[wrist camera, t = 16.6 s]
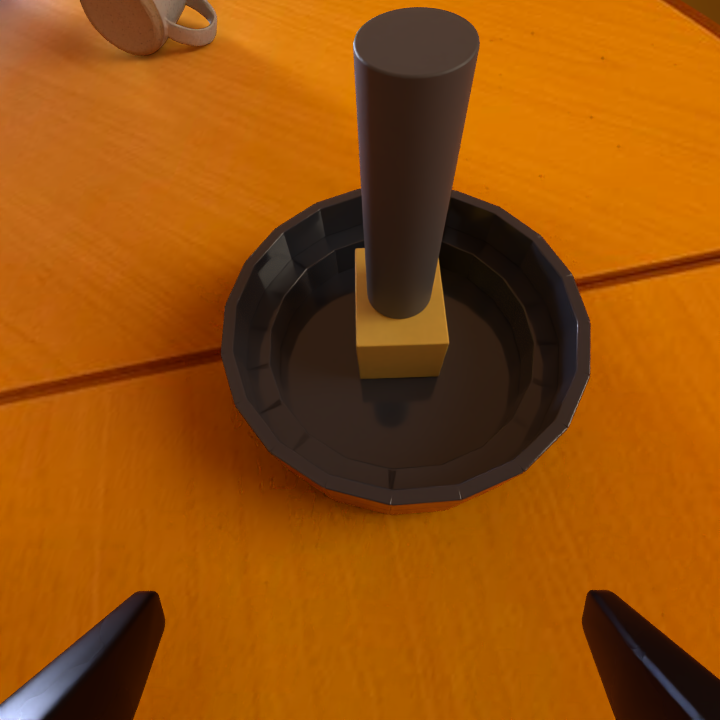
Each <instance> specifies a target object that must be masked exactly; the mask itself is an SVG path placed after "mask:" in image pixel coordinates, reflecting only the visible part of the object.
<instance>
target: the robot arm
mask: <svg viewBox="0 0 720 720" xmlns="http://www.w3.org/2000/svg"><path fill="white" fill-rule="evenodd" d="M582 625H583V630H584V633H585V636H586V639H587V642H588V644H589V647H590V650H591V653H592V655H593V658H594V661H595V664H596V666H597V669H598V672H599V675H600V677H601V680H602V683H603V686H604V688H605V691H606V694H607V697H608V700H609V702H610V705H611V708H612V710H613V713H614V716H615V718H616V720H720V680H719V679H718V678H717V677H716V676H715V675H713V674H712V673H711V672H710V671H708V670H707V669H706V668H705V667H704V666H702V665H701V664H700V663H699V662H697V661H696V660H695V659H694V658H693V657H691V656H690V655H689V654H688V653H686V652H685V651H684V650H683V649H682V648H680V647H679V646H678V645H677V644H675V643H674V642H673V641H672V640H671V639H669V638H668V637H667V636H666V635H665V634H663V633H662V632H661V631H660V630H658V629H657V628H656V627H655V626H654V625H652V624H651V623H650V622H649V621H647V620H646V619H645V618H644V617H643V616H641V615H640V614H639V613H638V612H636V611H635V610H634V609H633V608H632V607H630V606H629V605H628V604H627V603H625V602H624V601H623V600H622V599H621V598H619V597H618V596H617V595H616V594H614V593H613V592H611V591H608V590H590V591H589V592H588V593H587V596H586V601H585V606H584V612H583V617H582ZM164 627H165V617H164V613H163V609H162V606H161V602H160V598H159V595H158V593H156V592H155V591H138V592H136V593H134V594H133V595H131V596H130V597H129V598H128V599H127V600H125V601H124V602H123V603H122V604H121V605H119V606H118V607H117V608H116V609H115V610H113V611H112V612H111V613H110V614H108V615H107V616H106V617H105V618H104V619H102V620H101V621H100V622H99V623H98V624H96V625H95V626H94V627H93V628H92V629H90V630H89V631H88V632H87V633H86V634H84V635H83V636H82V637H81V638H80V639H78V640H77V641H76V642H75V643H74V644H72V645H71V646H70V647H69V648H67V649H66V650H65V651H64V652H63V653H61V654H60V655H59V656H58V657H57V658H55V659H54V660H53V661H52V662H51V663H49V664H48V665H47V666H46V667H45V668H43V669H42V670H41V671H40V672H39V673H37V674H36V675H35V676H34V677H33V678H31V679H30V680H29V681H28V682H26V683H25V684H24V685H23V686H22V687H20V688H19V689H18V690H17V691H16V692H14V693H13V694H12V695H11V696H10V697H8V698H7V699H6V700H5V701H4V702H2V703H1V704H0V720H133V718H134V715H135V712H136V710H137V707H138V704H139V701H140V698H141V696H142V693H143V690H144V687H145V684H146V681H147V678H148V675H149V672H150V669H151V666H152V663H153V661H154V658H155V655H156V652H157V649H158V646H159V643H160V640H161V637H162V634H163V631H164Z"/></svg>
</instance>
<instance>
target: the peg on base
mask: <svg viewBox="0 0 720 720" xmlns="http://www.w3.org/2000/svg"><path fill="white" fill-rule="evenodd" d="M479 44H480V42H479V36H478V33H477V31H476V29H475V28H474V26H473V25H472V24H471V23H470V22H468V21H467V20H466V19H464V18H462V17H461V16H459V15H457V14H454V13H451V12H449V11H445V10H441V9H435V8H424V7H414V8H403V9H397V10H393V11H389V12H386V13H383V14H381V15H378V16H376V17H374V18H372V19H371V20H369V21H368V22H366V23H365V24H364V25H363V26H362V27H361V28H360V29H359V30H358V32H357V34H356V36H355V39H354V44H353V50H354V68H355V86H356V104H357V121H358V139H359V157H360V175H361V193H362V210H363V228H364V246H365V248H356V249H355V302H356V350H357V358H358V366H359V374H360V379H376V378H406V377H436V376H439V373H440V370H441V367H442V364H443V361H444V357H445V354H446V351H447V348H448V345H449V336H448V328H447V320H446V313H445V305H444V297H443V289H442V281H441V273H440V265H439V252H440V247H441V242H442V237H443V232H444V227H445V221H446V216H447V211H448V206H449V201H450V196H451V190H452V185H453V180H454V175H455V170H456V165H457V159H458V154H459V149H460V144H461V139H462V133H463V128H464V123H465V118H466V113H467V108H468V102H469V97H470V92H471V87H472V82H473V77H474V71H475V66H476V61H477V56H478V51H479Z"/></svg>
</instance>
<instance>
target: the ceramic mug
mask: <svg viewBox="0 0 720 720" xmlns="http://www.w3.org/2000/svg"><path fill="white" fill-rule="evenodd" d="M80 2H81V5H82V7H83V9H84V12H85V14H86V15H87V17H88V19H89V21H90V22H91V23H92V25H93V26H94V27H95V29H96V30H97V31H98V32H99V33H100V34H101V35H102V36H103V37H104V38H105V39H106V40H107V41H109V42H110V43H111V44H113V45H114V46H116V47H117V48H119V49H121V50H123V51H125V52H127V53H130V54H133V55H141V56H142V55H150V54H152V53H154V52H156V51H157V50H158V49H159V48H160V47H161V46H162V45H163V44H164V43H165V42H166V40H167V38H168V37H169V38H171V39H173V40H174V41H177V42H179V43H182V44H187V45H191V46H203V45H206V44H209V43H210V42H212V41H213V39H214V38H215V36H216V28H217V16H216V13H215V11H214V9H213V7H212V6H211V5H210V4H209V3H208V2H207V0H80ZM185 5H187V6H189V7H191V8H193V9H194V10H196V11H198V12H199V13H200V14H202V15H203V16H204V17H205V18H206V19H207V20H208V21H209V23H210V25H209V26H208V27H206V28H203V29H191V28H186V27H184V26H180V25H178V24H176V22H177V21H178V19H179V17H180V15H181V14H182V12H183V10H184V8H185Z"/></svg>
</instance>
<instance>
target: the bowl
mask: <svg viewBox="0 0 720 720" xmlns="http://www.w3.org/2000/svg"><path fill="white" fill-rule="evenodd" d="M356 248H365V246H364V228H363V210H362V193H361V189H356V190H353V191H350V192H347V193H344V194H341V195H338V196H335V197H332V198H329V199H326V200H323V201H320V202H317V203H316V204H313V205H312V206H310V207H308V208H307V209H305V210H304V211H302V212H300V213H299V214H297V215H296V216H294V217H293V218H291V219H289V220H288V221H286V222H285V223H283V224H281V225H280V226H278V227H277V228H275V229H274V231H273V232H272V233H271V234H270V235H269V236H268V237H267V238H266V239H265V240H264V242H263V243H262V244H261V245H260V246H259V247H258V248H257V249H256V250H255V251H254V253H253V254H252V255H251V256H250V257H249V258H248V259H247V260H246V261H245V263H244V265H243V267H242V270H241V272H240V274H239V276H238V278H237V280H236V283H235V285H234V287H233V289H232V291H231V293H230V296H229V298H228V300H227V302H226V306H225V312H224V323H223V334H222V345H221V358H222V361H223V365H224V368H225V372H226V376H227V379H228V383H229V386H230V390H231V394H232V397H233V401H234V404H235V406H236V408H237V409H238V411H239V412H240V413H241V415H242V416H243V417H244V419H245V420H246V421H247V423H248V424H249V426H250V427H251V428H252V430H253V431H254V432H255V434H256V435H257V436H258V438H259V439H260V440H261V442H262V443H263V445H264V446H265V447H266V449H267V450H268V451H269V452H270V453H271V454H272V455H273V456H274V457H275V458H276V459H278V460H279V461H280V462H281V463H282V464H283V465H284V466H286V467H287V468H288V469H289V470H290V471H291V472H293V473H294V474H296V475H297V476H299V477H300V478H302V479H303V480H305V481H306V482H308V483H309V484H311V485H312V486H314V487H315V488H317V489H318V490H320V491H321V492H323V493H324V494H326V495H327V496H329V497H330V498H332V499H333V500H336V501H337V502H341V503H345V504H349V505H353V506H357V507H361V508H364V509H368V510H372V511H376V512H380V513H384V514H390V515H396V514H409V513H421V512H434V511H445V510H448V509H450V508H453V507H455V506H457V505H459V504H462V503H464V502H466V501H468V500H470V499H473V498H475V497H477V496H479V495H482V494H484V493H486V492H488V491H491V490H493V489H495V488H497V487H499V486H500V485H502V484H504V483H506V482H508V481H510V480H511V479H513V478H515V477H517V476H519V475H520V474H522V473H523V472H525V471H526V470H527V469H528V468H529V467H530V466H531V465H532V464H533V463H534V462H535V461H536V460H537V459H538V458H539V457H540V456H541V455H542V454H543V453H544V452H545V451H546V450H547V449H548V448H549V447H550V446H551V445H552V444H553V443H554V442H555V441H556V440H557V439H558V438H559V437H560V436H561V435H562V434H563V433H564V432H565V431H566V430H567V428H568V427H569V425H570V423H571V421H572V418H573V416H574V413H575V411H576V409H577V406H578V404H579V402H580V399H581V397H582V394H583V392H584V390H585V387H586V385H587V382H588V380H589V378H590V320H589V317H588V314H587V312H586V309H585V306H584V304H583V301H582V298H581V296H580V293H579V290H578V288H577V285H576V282H575V280H574V277H573V275H572V273H571V272H570V271H569V270H568V268H567V267H566V266H565V265H564V263H563V262H562V261H561V260H560V258H559V257H558V256H557V255H556V253H555V252H554V251H553V250H552V249H551V247H550V246H549V245H548V244H547V242H546V241H545V240H544V239H543V237H541V235H539V234H538V233H536V232H535V231H534V230H532V229H531V228H529V227H528V226H527V225H525V224H524V223H522V222H521V221H519V220H518V219H517V218H515V217H514V216H512V215H511V214H509V213H508V212H507V211H505V210H504V209H502V208H500V207H498V206H496V205H493V204H490V203H488V202H485V201H482V200H480V199H477V198H475V197H472V196H469V195H467V194H464V193H461V192H459V191H455V190H451V196H450V201H449V206H448V211H447V216H446V221H445V227H444V232H443V237H442V242H441V247H440V252H439V265H440V273H441V281H442V289H443V297H444V305H445V313H446V320H447V328H448V336H449V345H448V348H447V351H446V354H445V357H444V361H443V364H442V367H441V370H440V373H439V376H436V377H406V378H376V379H360V374H359V366H358V358H357V350H356V302H355V249H356Z"/></svg>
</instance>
